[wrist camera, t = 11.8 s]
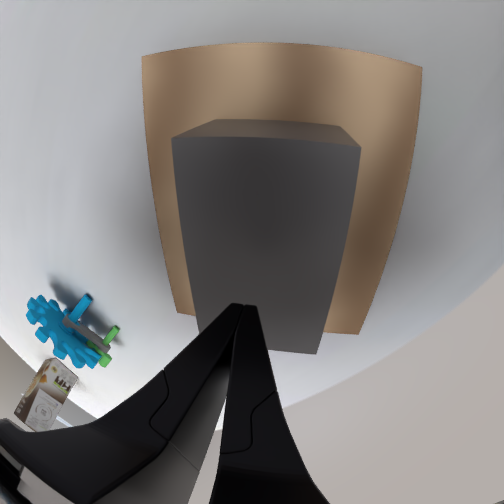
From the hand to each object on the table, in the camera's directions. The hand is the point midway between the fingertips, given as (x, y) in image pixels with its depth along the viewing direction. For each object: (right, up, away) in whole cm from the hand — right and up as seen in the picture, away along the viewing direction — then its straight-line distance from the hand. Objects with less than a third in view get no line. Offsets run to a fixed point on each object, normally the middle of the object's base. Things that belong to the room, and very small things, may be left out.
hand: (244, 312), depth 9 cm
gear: (-18, -4, +17) cm, 25 cm away
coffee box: (-39, -22, +33) cm, 56 cm away
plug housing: (+1, +4, +6) cm, 7 cm away
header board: (+1, +4, +7) cm, 8 cm away
